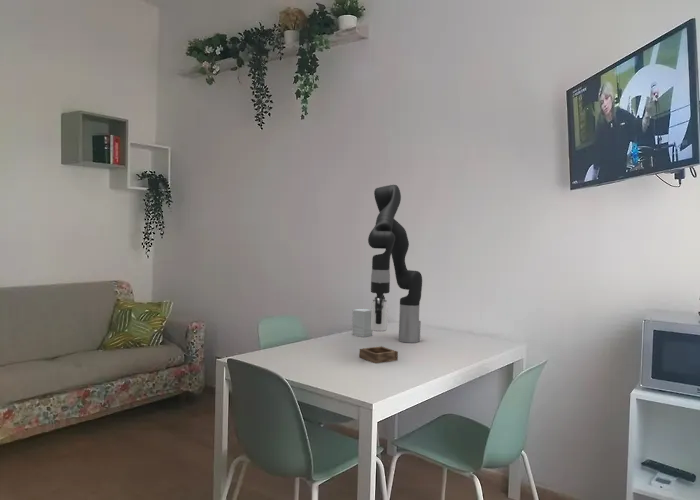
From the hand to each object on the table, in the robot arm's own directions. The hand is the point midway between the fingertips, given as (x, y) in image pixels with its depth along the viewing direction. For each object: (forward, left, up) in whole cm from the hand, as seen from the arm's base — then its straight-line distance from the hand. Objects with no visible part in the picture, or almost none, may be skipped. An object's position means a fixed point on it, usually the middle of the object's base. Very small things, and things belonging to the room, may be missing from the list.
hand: (379, 322), depth 224 cm
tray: (0, 0, -15) cm, 15 cm away
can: (0, 0, -3) cm, 3 cm away
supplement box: (-22, -44, -15) cm, 51 cm away
